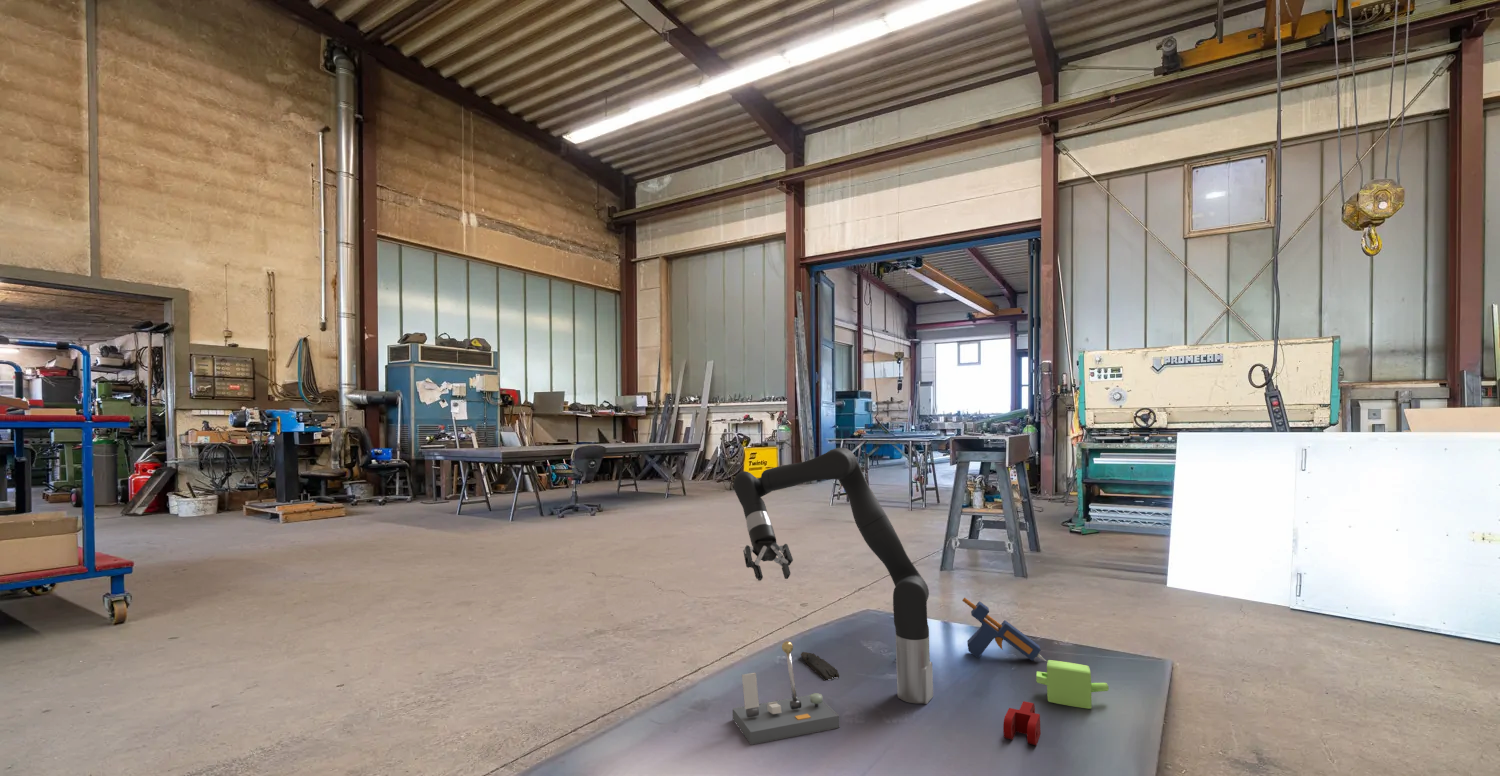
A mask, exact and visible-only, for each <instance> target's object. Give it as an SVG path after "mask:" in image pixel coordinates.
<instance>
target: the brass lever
mask: <svg viewBox="0 0 1500 776" xmlns="http://www.w3.org/2000/svg"><path fill="white" fill-rule="evenodd" d="M781 649H782V651H783V652H784V653H785V656H786V662H787V669H788V675H789V684H790V691H791V692H790V693H791V698H792V699H793V701H790V707H791V709H798V708H801V701H800V700H797V697H798V695H797V694H798V693H797V688H796V684H795V675H794V668H793V660H792V652H793V650H794V645H793V642H790V641H789V640H786V641H784V642H782V645H781Z"/></svg>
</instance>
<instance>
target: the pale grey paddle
mask: <svg viewBox="0 0 1500 776" xmlns="http://www.w3.org/2000/svg"><path fill="white" fill-rule="evenodd" d="M741 680H742V690H743V691H742V692H743V702H744V706H745V709H746V715H747V717H753V716H758V715H759V709H758V707H759V704H760V702H759V692H758V691H759V690H758V682H757V681H758V679H757V673H756V672H751V673H744V674H741Z"/></svg>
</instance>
